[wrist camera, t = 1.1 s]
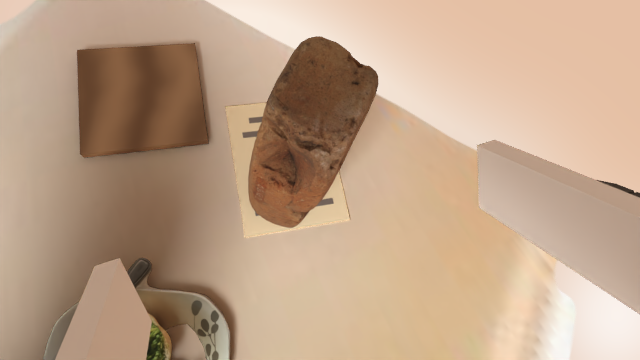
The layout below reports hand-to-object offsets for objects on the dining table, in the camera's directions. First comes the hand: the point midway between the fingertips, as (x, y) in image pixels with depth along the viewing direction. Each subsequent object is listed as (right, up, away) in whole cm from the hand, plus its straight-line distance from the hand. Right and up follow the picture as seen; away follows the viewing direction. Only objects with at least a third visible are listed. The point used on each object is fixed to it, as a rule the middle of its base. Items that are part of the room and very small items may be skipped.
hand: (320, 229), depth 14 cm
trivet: (-20, +11, +32) cm, 39 cm away
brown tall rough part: (-3, +1, +31) cm, 32 cm away
